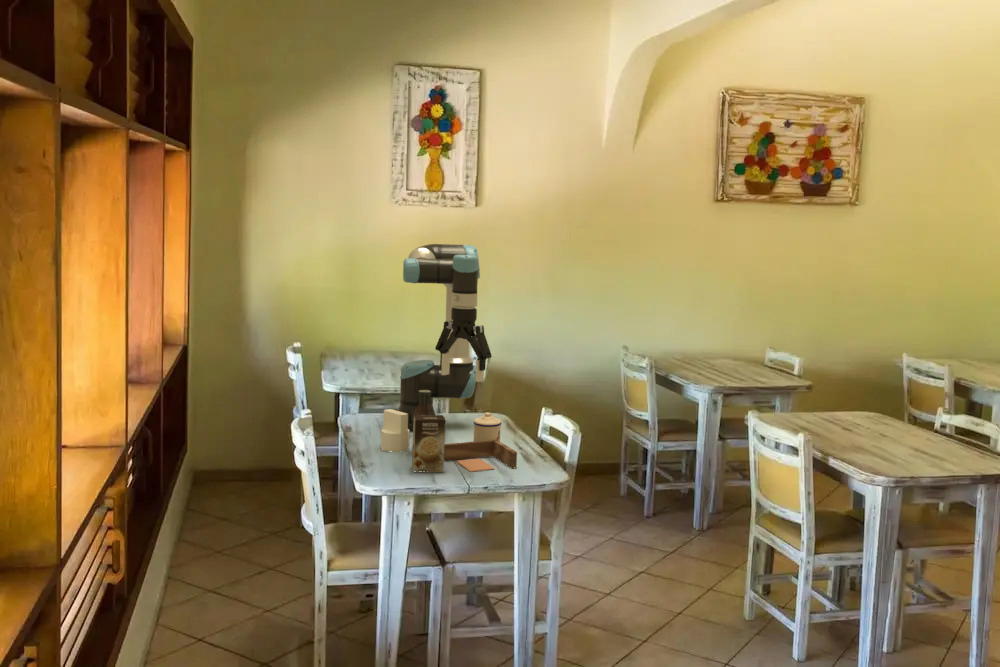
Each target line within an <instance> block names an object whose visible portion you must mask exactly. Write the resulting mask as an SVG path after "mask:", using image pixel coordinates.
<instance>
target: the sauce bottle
mask: <svg viewBox="0 0 1000 667" xmlns="http://www.w3.org/2000/svg"><path fill="white" fill-rule="evenodd" d="M418 395H419V402H418V404H419V405H418V407H417V408H416V410H415V415H433V411H432V408H431V405H430V404H431V403H430V397H431V391H429V390H420V391H419V392H418Z"/></svg>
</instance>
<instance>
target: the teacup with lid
mask: <svg viewBox="0 0 1000 667" xmlns="http://www.w3.org/2000/svg"><path fill="white" fill-rule="evenodd" d="M501 426H502V422H501V420H500V419H499V418H496V417H495V416H492V415H491V412H485V413H484V415H482V416H479V417H476V418H475V419H473V442H474V441H486V440H498V441H500V442H501Z"/></svg>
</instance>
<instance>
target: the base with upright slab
mask: <svg viewBox="0 0 1000 667" xmlns="http://www.w3.org/2000/svg"><path fill="white" fill-rule="evenodd" d="M382 423H383V425H382V426H383V427H382V429H381V432H380V435H381V436H380V445H381V446H380V449H381V450H382V449H383V450H385V451H384V452H387V451H392V452H391V453H401V452H400V451H403V452H406V451H405V450H407V451H408V450H410V431H409V429H408V414H407V413H403V412H400V411H398V410H395V409H392V408H388V409H384V410H383V422H382ZM383 450H382V451H383Z"/></svg>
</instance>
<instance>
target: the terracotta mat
mask: <svg viewBox="0 0 1000 667" xmlns="http://www.w3.org/2000/svg"><path fill="white" fill-rule="evenodd" d="M455 461H456V463H457V464H458V463H459V464H458V465H460V466H461V467H462V466H463V469H465V468H466V469H465V470H466V471H468V472H469V471H470V472H469V473H475V472H474V471H477V472H484V471H483V470H487V471H492V470H491V469H495V470H496V468H495V467H494V466H492V465H490V464H489V463H488V462H486V461H484V460H483V459H482V458H473V459H462V460H455Z"/></svg>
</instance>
